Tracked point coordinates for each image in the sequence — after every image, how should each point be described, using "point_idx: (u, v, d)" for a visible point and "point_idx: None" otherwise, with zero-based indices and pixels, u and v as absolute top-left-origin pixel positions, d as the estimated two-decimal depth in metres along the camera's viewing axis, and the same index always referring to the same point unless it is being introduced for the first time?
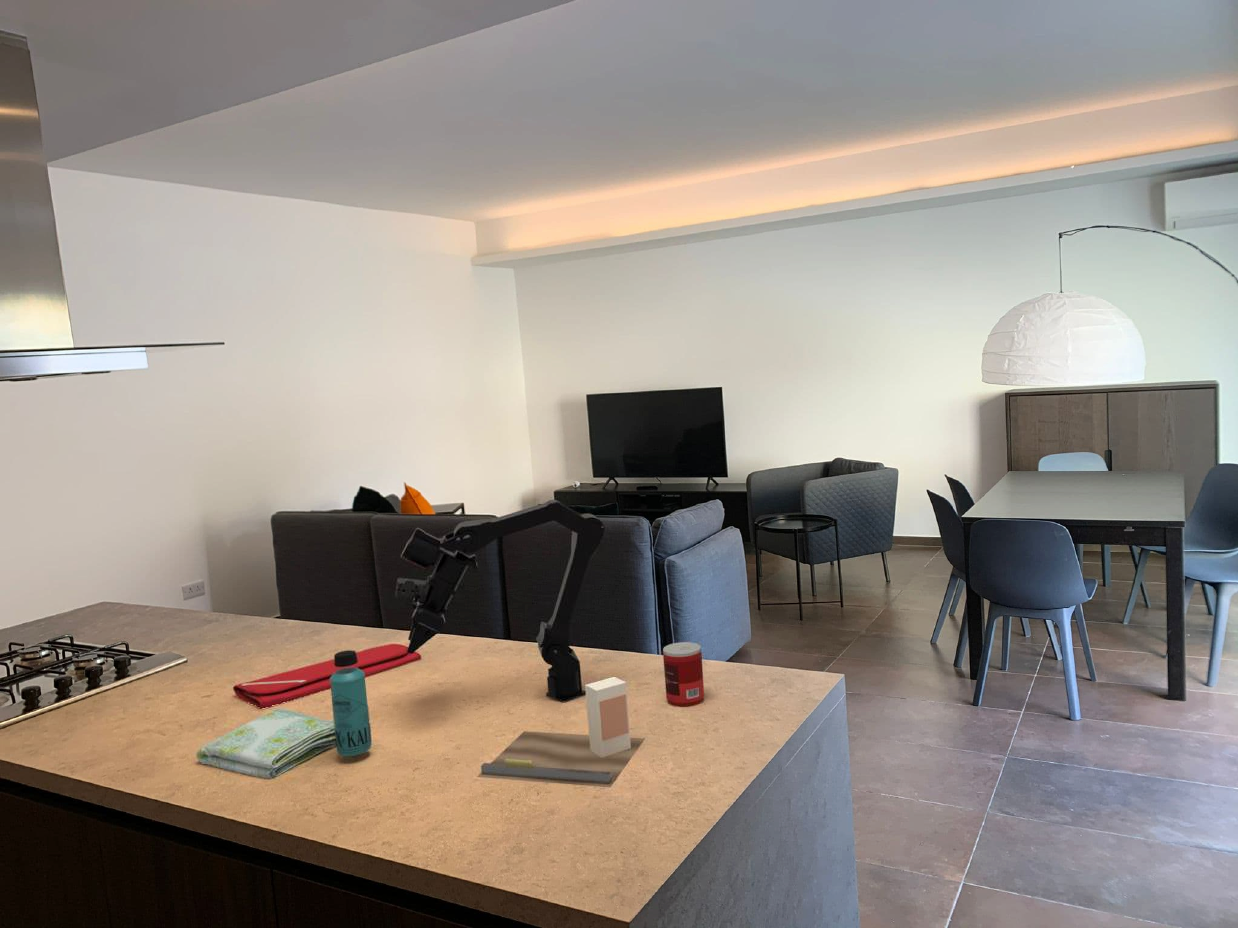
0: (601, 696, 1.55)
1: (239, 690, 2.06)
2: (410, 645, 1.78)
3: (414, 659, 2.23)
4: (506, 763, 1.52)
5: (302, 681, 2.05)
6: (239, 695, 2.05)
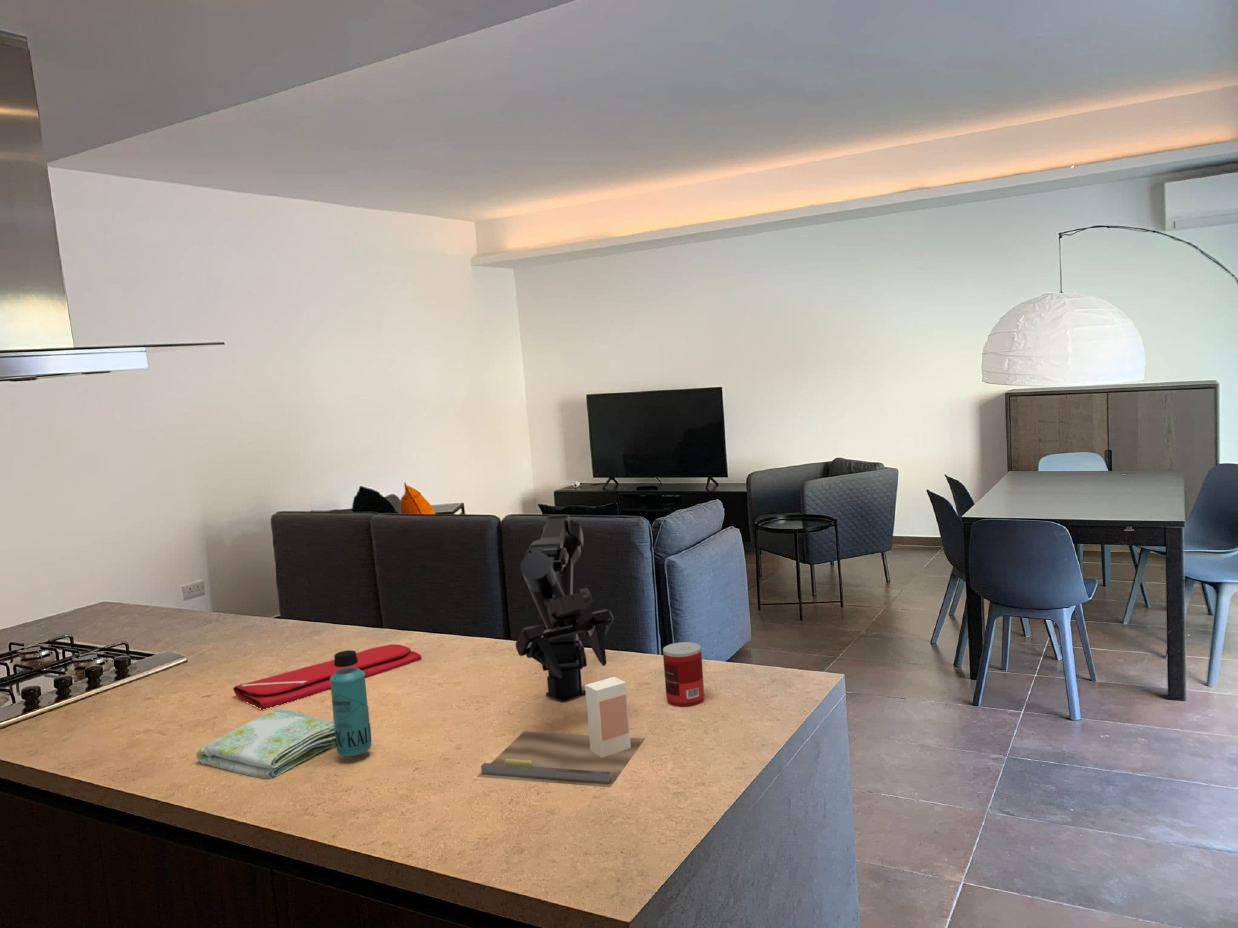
0: (601, 696, 1.55)
1: (239, 691, 2.05)
2: None
3: (414, 660, 2.23)
4: (506, 763, 1.52)
5: (303, 682, 2.04)
6: (239, 696, 2.04)
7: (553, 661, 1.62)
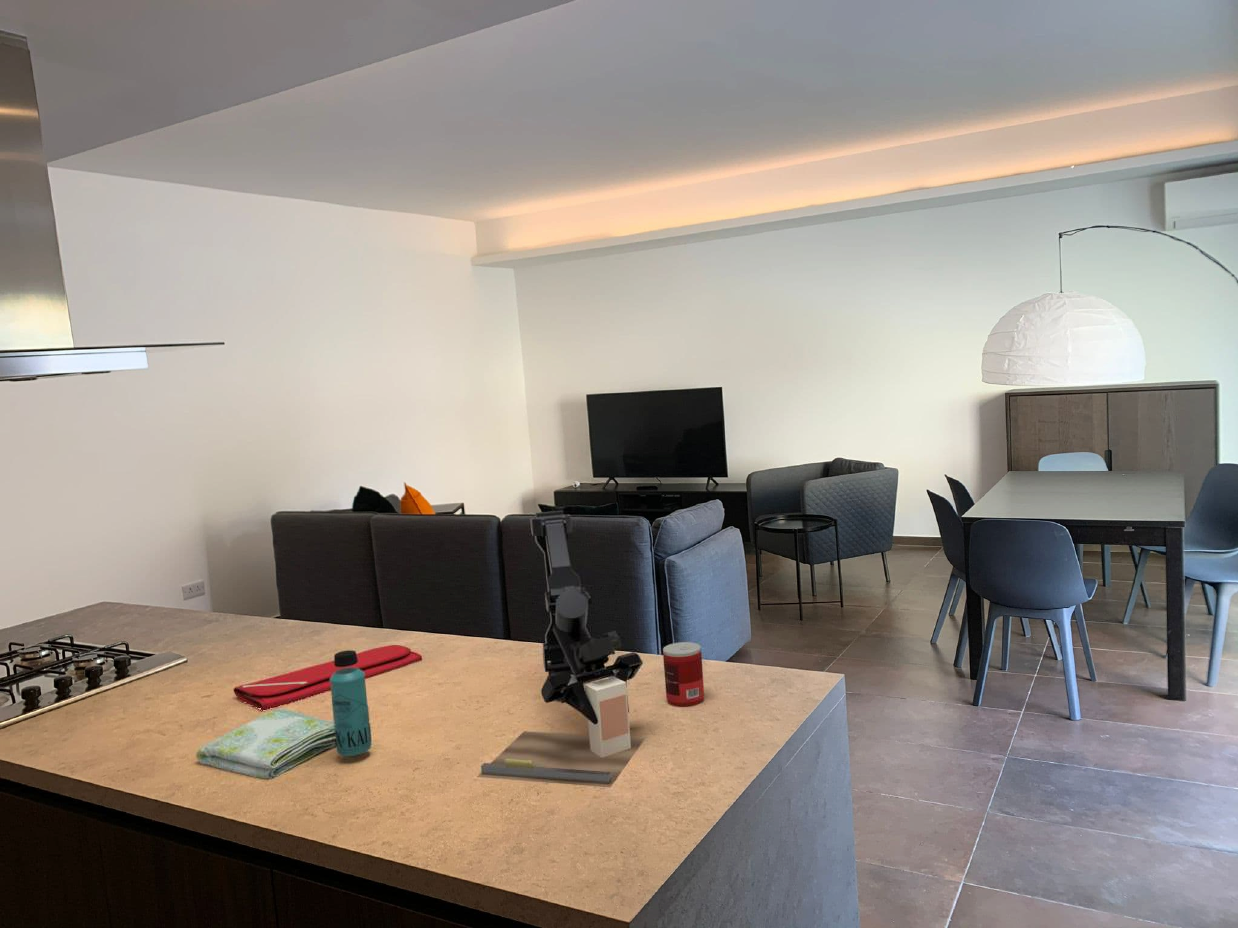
0: (601, 696, 1.55)
1: (240, 692, 2.04)
2: None
3: (415, 660, 2.23)
4: (506, 763, 1.52)
5: (304, 683, 2.04)
6: (240, 697, 2.03)
7: (588, 707, 1.56)
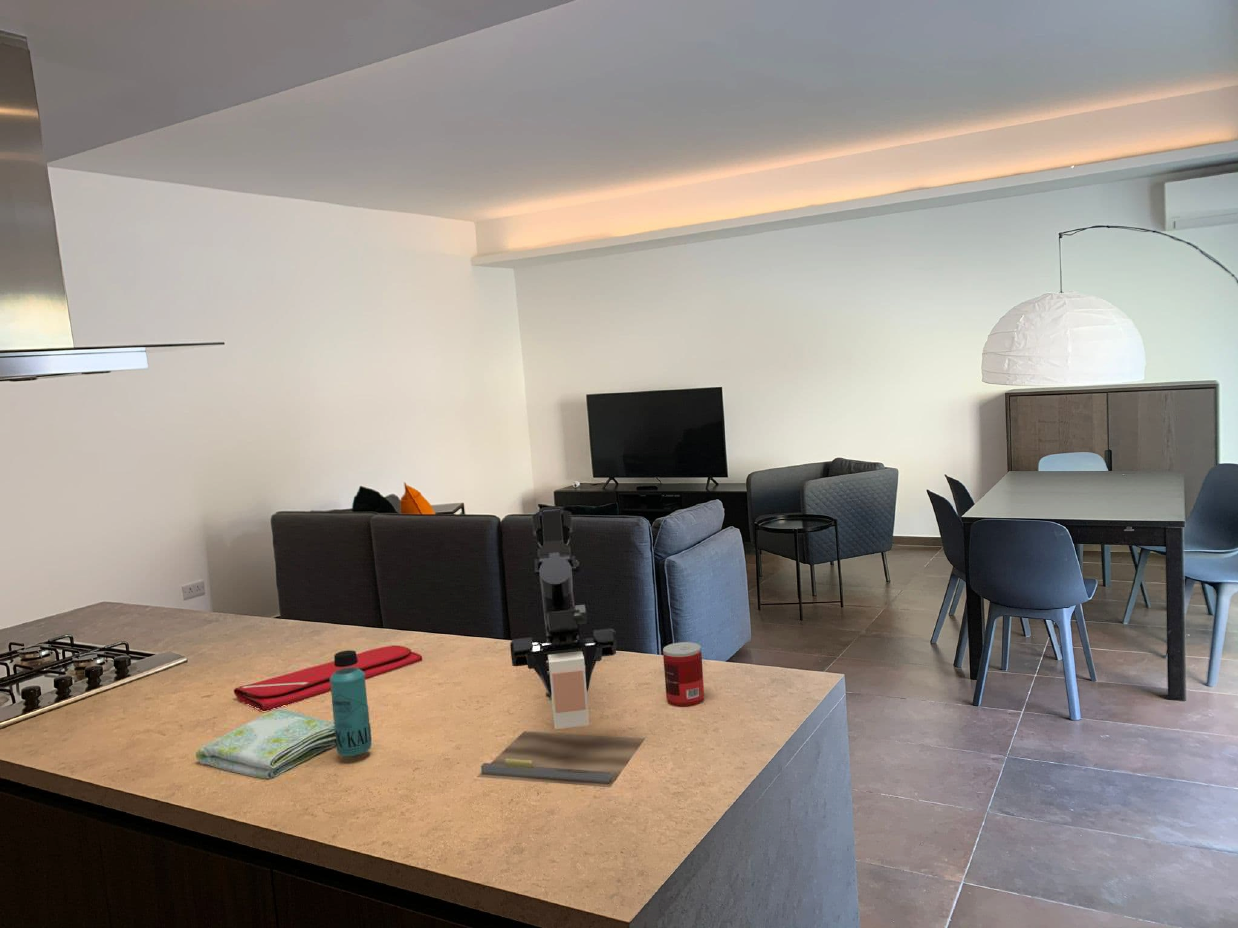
0: (554, 669, 1.53)
1: (240, 693, 2.04)
2: (589, 679, 1.56)
3: (415, 660, 2.22)
4: (506, 763, 1.52)
5: (304, 683, 2.03)
6: (240, 698, 2.03)
7: (545, 677, 1.55)
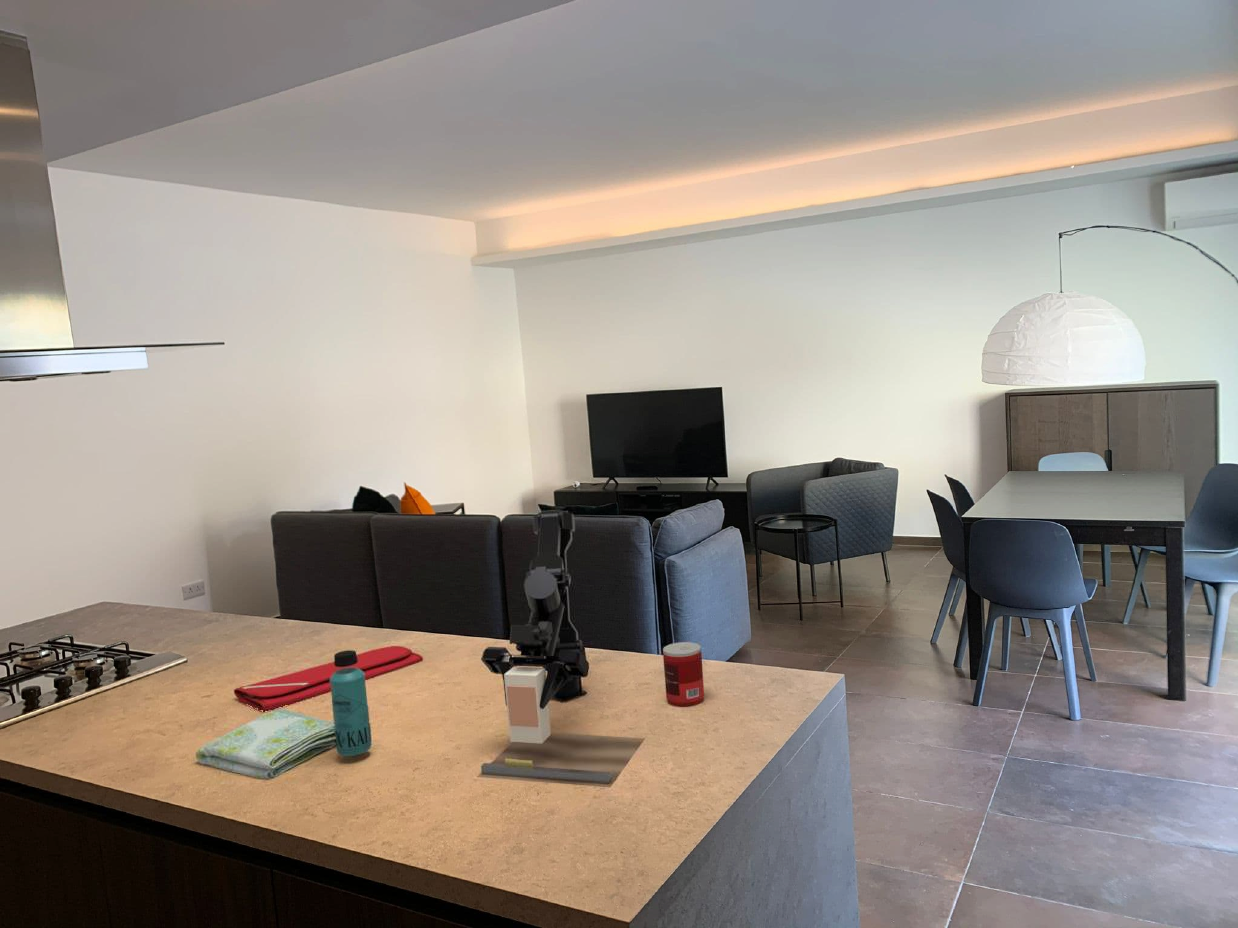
0: (508, 681, 1.54)
1: (240, 693, 2.03)
2: (545, 697, 1.54)
3: (416, 661, 2.22)
4: (506, 763, 1.52)
5: (305, 684, 2.03)
6: (240, 698, 2.03)
7: None
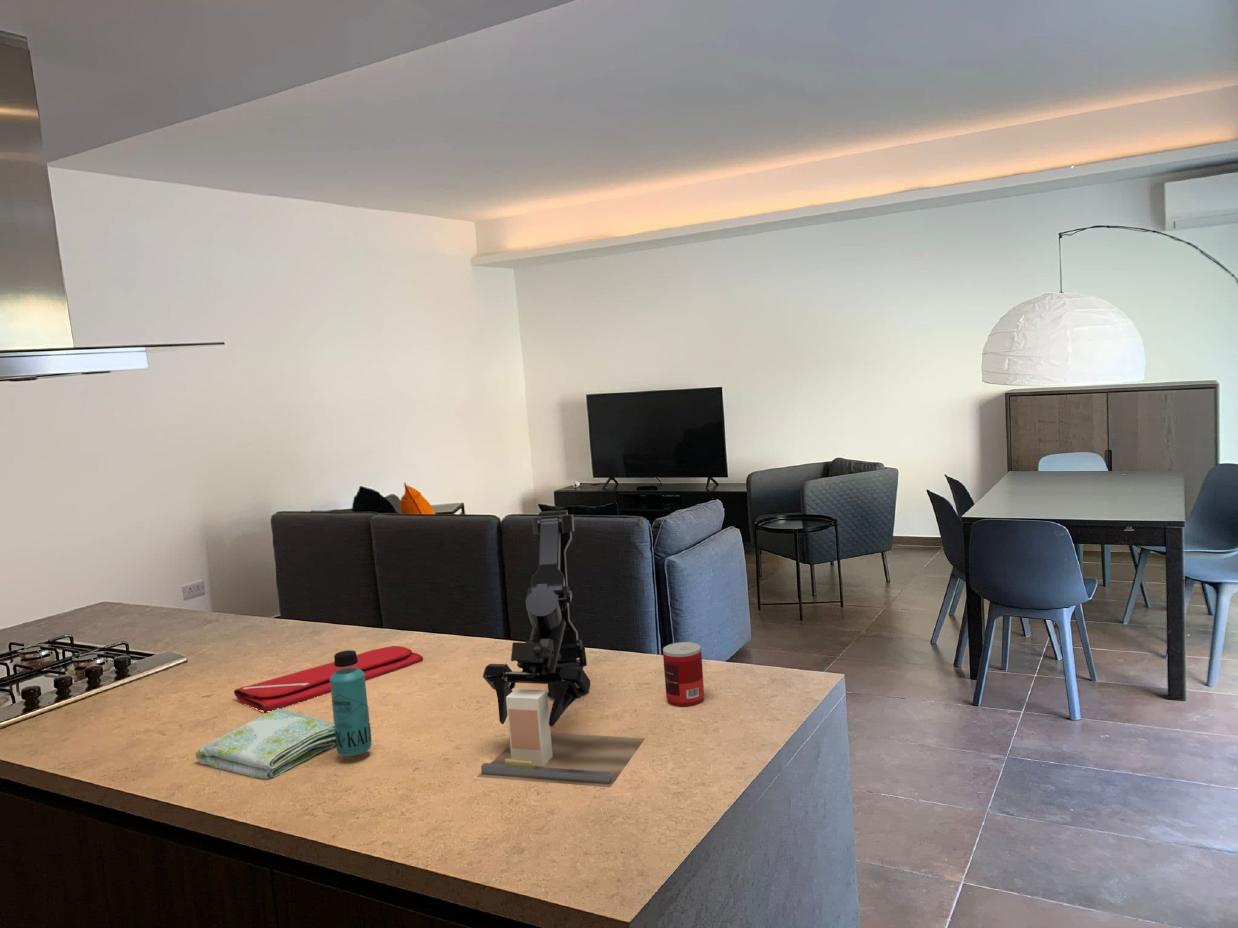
0: (510, 704, 1.55)
1: (240, 694, 2.03)
2: (554, 715, 1.54)
3: (416, 661, 2.22)
4: (506, 763, 1.52)
5: (305, 684, 2.03)
6: (240, 699, 2.02)
7: (499, 705, 1.57)
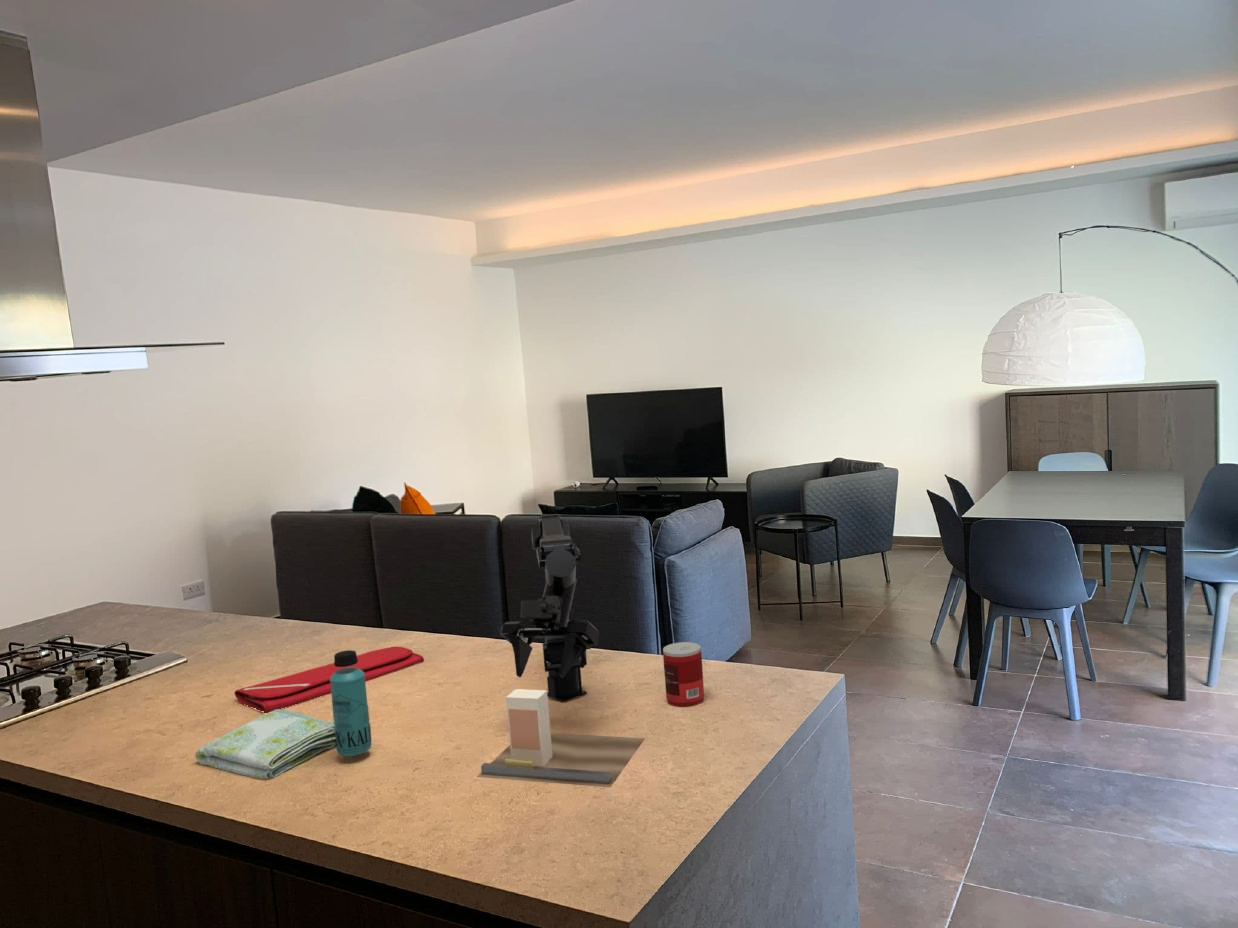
0: (510, 704, 1.55)
1: (241, 695, 2.02)
2: (564, 667, 1.63)
3: (417, 661, 2.21)
4: (506, 763, 1.52)
5: (306, 685, 2.02)
6: (241, 700, 2.02)
7: (516, 660, 1.68)
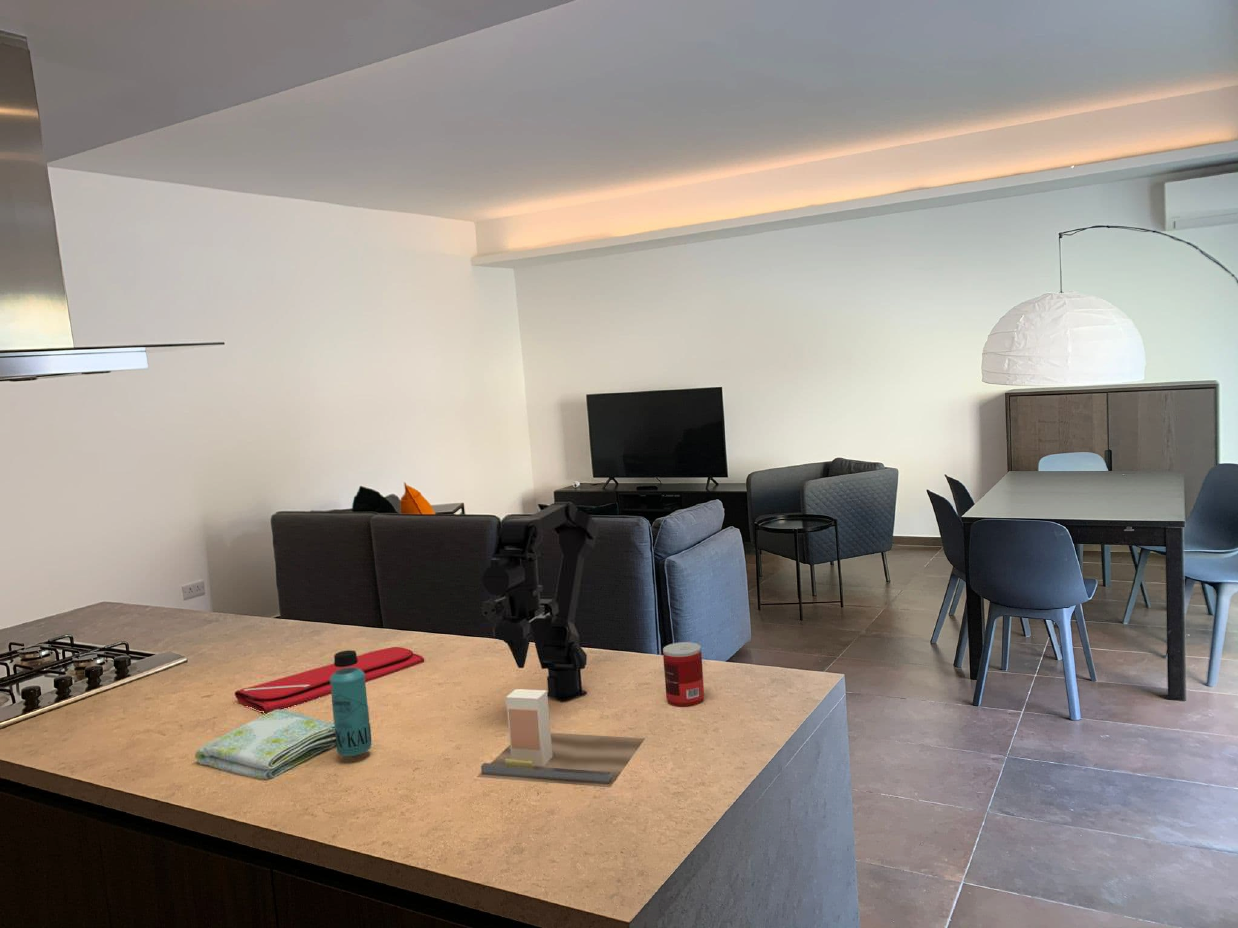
0: (510, 704, 1.55)
1: (241, 695, 2.02)
2: (516, 660, 1.73)
3: (417, 662, 2.21)
4: (506, 763, 1.52)
5: (306, 686, 2.02)
6: (241, 701, 2.01)
7: None
